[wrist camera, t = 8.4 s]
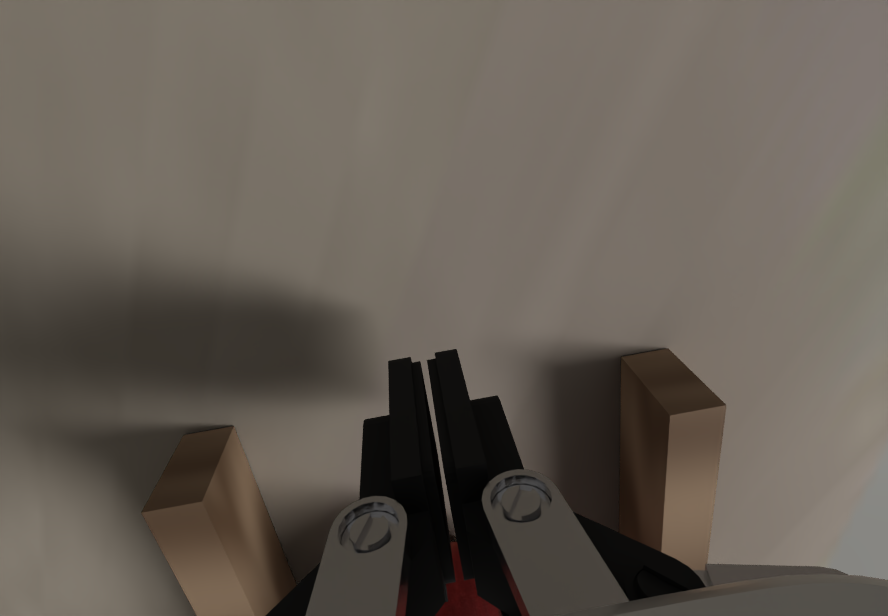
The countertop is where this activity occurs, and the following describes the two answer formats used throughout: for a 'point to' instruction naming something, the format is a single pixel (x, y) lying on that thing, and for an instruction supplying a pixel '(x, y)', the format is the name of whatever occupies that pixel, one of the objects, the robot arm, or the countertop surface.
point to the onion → (464, 594)
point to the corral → (265, 566)
